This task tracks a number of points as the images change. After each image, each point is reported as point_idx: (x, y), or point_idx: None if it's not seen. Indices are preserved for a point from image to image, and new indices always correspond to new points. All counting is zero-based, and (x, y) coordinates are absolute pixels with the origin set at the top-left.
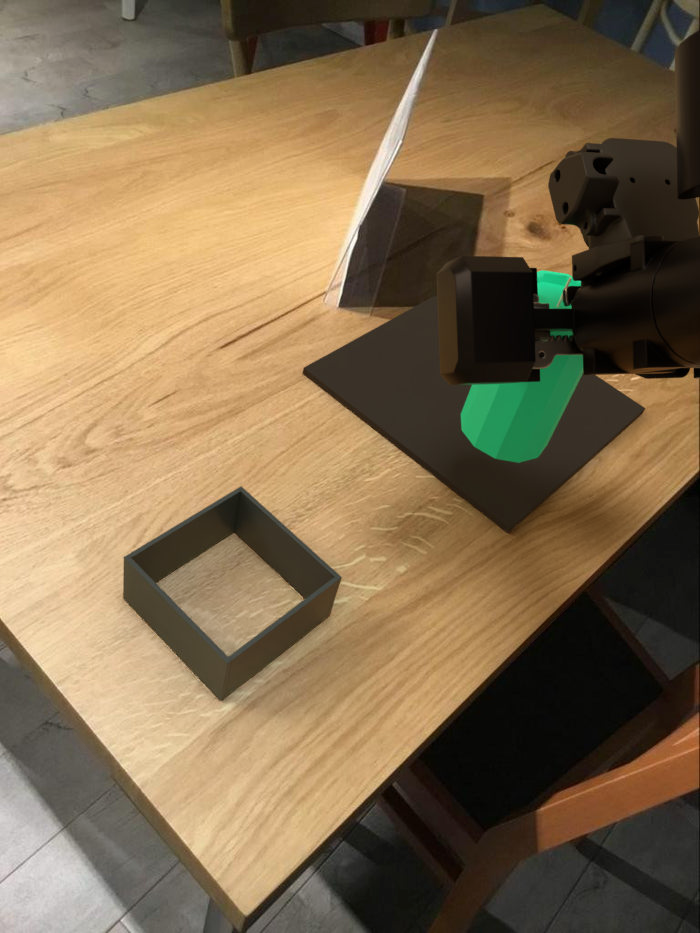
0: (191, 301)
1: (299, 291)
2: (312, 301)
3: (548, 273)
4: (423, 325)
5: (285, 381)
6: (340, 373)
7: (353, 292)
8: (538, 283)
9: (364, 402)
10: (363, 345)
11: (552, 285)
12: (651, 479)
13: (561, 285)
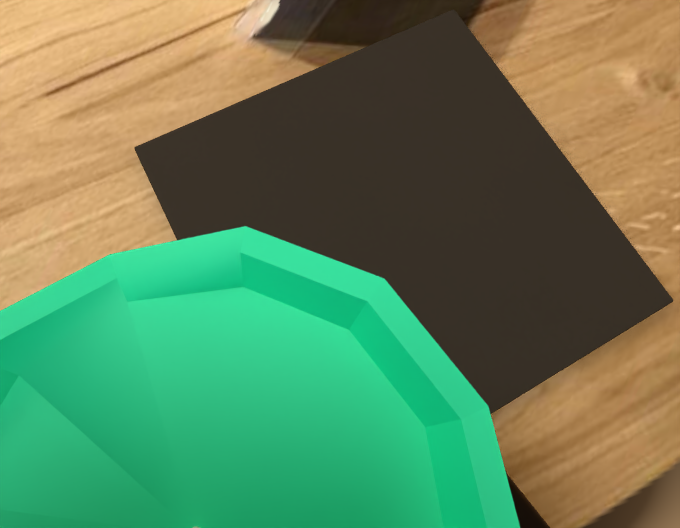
0: (47, 9)
1: (207, 4)
2: (218, 23)
3: (263, 261)
4: (359, 86)
5: (107, 164)
6: (183, 165)
7: (287, 12)
8: (205, 300)
9: (193, 225)
10: (245, 115)
11: (279, 326)
12: (620, 448)
13: (336, 329)
